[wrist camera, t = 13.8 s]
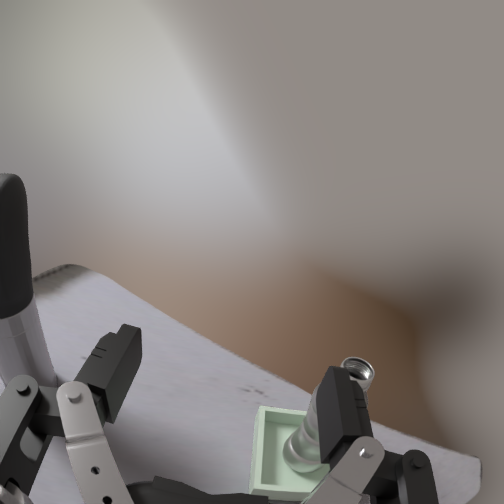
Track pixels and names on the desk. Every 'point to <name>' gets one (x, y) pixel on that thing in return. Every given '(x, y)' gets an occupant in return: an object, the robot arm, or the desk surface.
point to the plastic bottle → (306, 436)
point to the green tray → (278, 457)
